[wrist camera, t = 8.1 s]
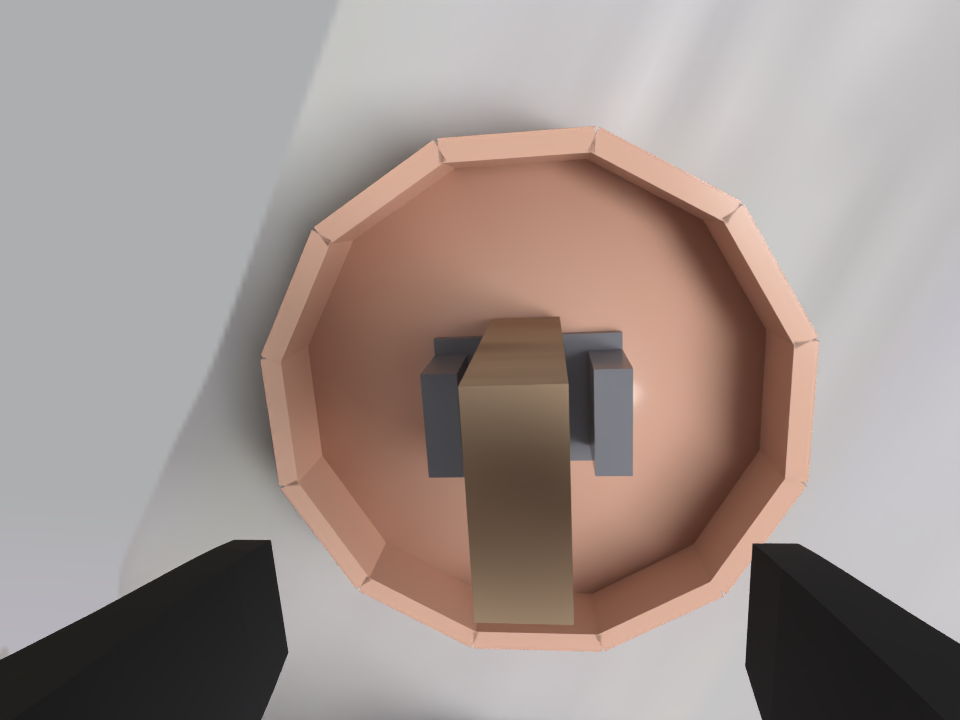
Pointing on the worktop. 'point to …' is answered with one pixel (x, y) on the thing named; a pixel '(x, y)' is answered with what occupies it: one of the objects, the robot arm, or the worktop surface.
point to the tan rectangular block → (518, 473)
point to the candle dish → (590, 369)
